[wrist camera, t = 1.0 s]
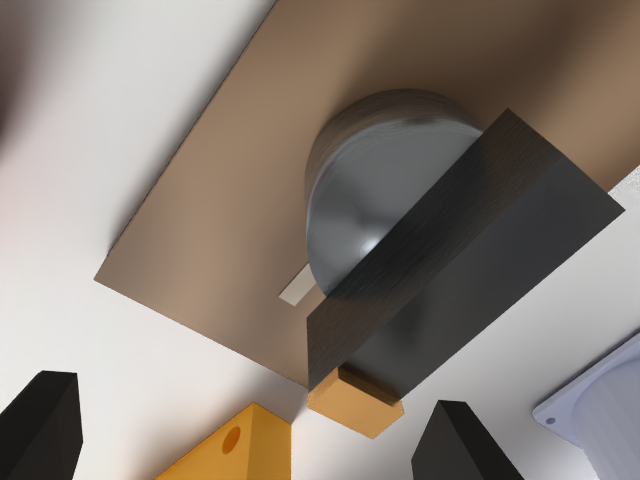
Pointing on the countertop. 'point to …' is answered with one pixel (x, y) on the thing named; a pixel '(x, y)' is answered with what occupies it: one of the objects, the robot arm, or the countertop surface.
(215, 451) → the pipe clamp
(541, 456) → the countertop surface
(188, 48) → the countertop surface
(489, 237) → the twist cap
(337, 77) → the base plate
